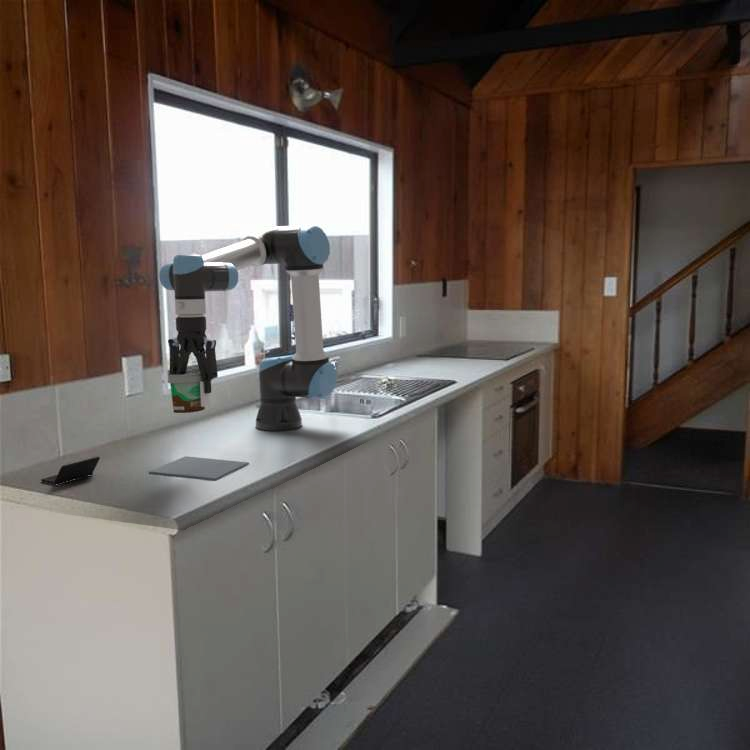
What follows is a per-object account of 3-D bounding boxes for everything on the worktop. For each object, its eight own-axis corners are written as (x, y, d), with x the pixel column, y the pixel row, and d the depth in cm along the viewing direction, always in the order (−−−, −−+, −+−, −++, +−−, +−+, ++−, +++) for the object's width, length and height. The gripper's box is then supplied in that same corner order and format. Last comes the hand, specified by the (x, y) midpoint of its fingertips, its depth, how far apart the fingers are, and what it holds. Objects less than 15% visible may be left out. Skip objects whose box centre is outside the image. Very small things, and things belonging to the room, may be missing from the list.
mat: (185, 458, 206) (185, 456, 206) (248, 464, 199) (248, 462, 199) (148, 473, 191) (148, 471, 191) (215, 480, 184) (215, 478, 184)
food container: (189, 415, 186) (187, 376, 185) (169, 413, 189) (167, 374, 187) (219, 406, 197) (217, 369, 196) (200, 405, 200) (198, 368, 198)
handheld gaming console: (71, 465, 193) (84, 439, 189) (91, 483, 192) (104, 457, 188) (36, 483, 183) (49, 456, 179) (57, 502, 182) (70, 475, 178)
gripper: (151, 316, 190) (156, 404, 193) (212, 317, 182) (216, 410, 185) (170, 314, 197) (175, 400, 200) (230, 315, 189) (233, 404, 192)
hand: (194, 404), depth 193 cm, fingers closed on food container, 6 cm apart
